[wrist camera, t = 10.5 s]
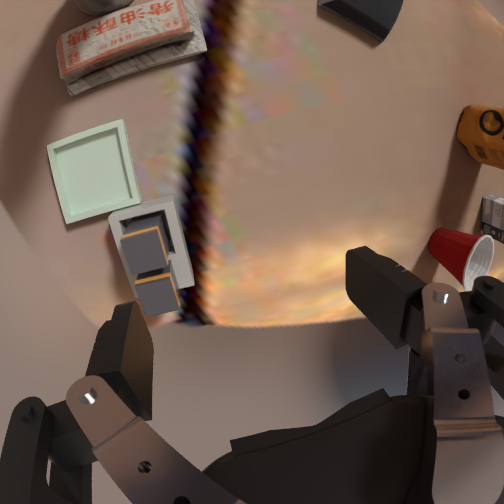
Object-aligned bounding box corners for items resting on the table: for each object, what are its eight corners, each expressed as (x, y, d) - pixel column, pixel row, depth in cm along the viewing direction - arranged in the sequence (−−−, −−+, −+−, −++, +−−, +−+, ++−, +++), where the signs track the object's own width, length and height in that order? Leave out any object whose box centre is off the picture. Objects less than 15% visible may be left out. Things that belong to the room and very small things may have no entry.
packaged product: (58, 95, 24) (48, 27, 20) (72, 99, 28) (61, 37, 24) (211, 43, 26) (194, -23, 22) (207, 54, 30) (191, -7, 26)
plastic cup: (455, 250, 52) (495, 274, 41) (422, 275, 52) (462, 304, 41) (452, 205, 47) (498, 225, 37) (417, 229, 47) (464, 254, 36)
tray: (51, 144, 29) (46, 145, 28) (124, 119, 31) (122, 118, 29) (70, 220, 34) (66, 224, 32) (142, 200, 35) (140, 203, 34)
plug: (131, 218, 35) (119, 240, 27) (161, 210, 35) (157, 230, 28) (140, 248, 36) (131, 275, 29) (170, 240, 37) (168, 266, 30)
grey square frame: (115, 209, 35) (97, 231, 27) (174, 194, 36) (172, 211, 28) (138, 283, 39) (130, 320, 31) (192, 271, 40) (197, 306, 32)
